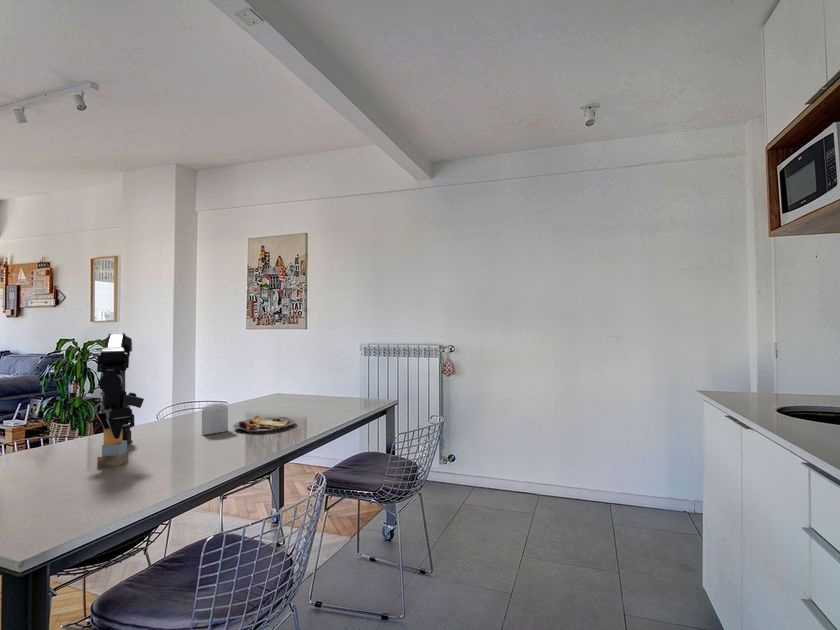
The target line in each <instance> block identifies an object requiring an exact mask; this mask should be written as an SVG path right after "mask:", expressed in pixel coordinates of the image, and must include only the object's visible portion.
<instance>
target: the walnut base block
mask: <svg viewBox="0 0 840 630" xmlns="http://www.w3.org/2000/svg"><path fill="white" fill-rule="evenodd" d="M96 460H97V461H96V465H97V466H96V467H97V468H117V466H118V467H119V466H121V465H123V464H125V463H127V462H129V450H127V451H126V452H125V453H123V454H121V455H119V456H102V454H101V455H99V456H96ZM113 466H114V467H113Z"/></svg>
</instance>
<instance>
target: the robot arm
mask: <svg viewBox="0 0 840 630" xmlns="http://www.w3.org/2000/svg"><path fill="white" fill-rule="evenodd" d="M103 344H104V347H103V348H102V349H101V351H100V353H98V355H97V356H98V357H97V367H96V372H97V373H102V376H101V377H100V379H99V380H98V387H99V389H100V390H101V391H100V394H99V395H100V396H101V402H97V403H96V404H95V405H94V413H95V415H96V416H97V418H98V420H99V422H100V423H101V426H102V428H103V429H104V430H105V429H109V428H110V429H111V431H112V434H113V436H114V438H115V439H118V438H119V437H120V434H121V430H122V441H127V445H128V444H130V443H132V442H133V440H132V430H131V428H133V427H135V414H134V413H133V409H132V408H131V406H132V407H136V408H139V409H141V408H142V406H143V403H144V401H145V399H144V398H143V397H139V396H137V394H136V393H134V392H129V393H128V394H127V391H126V371H127V370H128V369H129V367H130V356H131V353H132V351H133V340H132V338H131V337H129V336H127V335H126V333H124V332H110V333H108V336H107V337H106V338H105V339H104V343H103ZM104 430H103V431H104Z"/></svg>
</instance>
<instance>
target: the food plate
mask: <svg viewBox="0 0 840 630" xmlns="http://www.w3.org/2000/svg"><path fill="white" fill-rule="evenodd" d="M295 423H296V420H295V419H292V418H289V417H284V416H281V417H280V416H274V417H273V416H271V417H270V416H269V417H268V416H267V417H265V416H264V417H260V416H259V415H255V416H253V418H250V419H249V418H248V419H245V420H241V421H238V422H236V423H235V424H234V425H233V428H234V429H239V430H242V431H244V432H247V433H258V432H259V433H262V432H263V433H264V431H266V432H273V431H277V430H280V429H283V428H287V427H288V426H291V425H294V424H295ZM279 427H280V428H279ZM257 429H267V430H257Z"/></svg>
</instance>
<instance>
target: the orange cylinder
mask: <svg viewBox="0 0 840 630" xmlns="http://www.w3.org/2000/svg"><path fill="white" fill-rule="evenodd" d="M120 443H122V430H121V434H120V437H119V438H118V439H115V438H114V436H113V434H112V431H111V429H110V428H109V429H105V430H103V445H116V444H120Z"/></svg>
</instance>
